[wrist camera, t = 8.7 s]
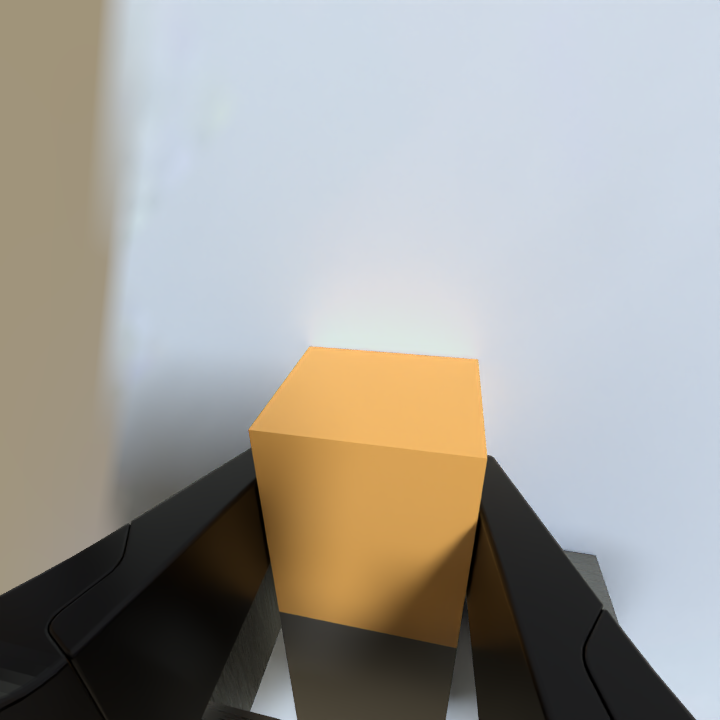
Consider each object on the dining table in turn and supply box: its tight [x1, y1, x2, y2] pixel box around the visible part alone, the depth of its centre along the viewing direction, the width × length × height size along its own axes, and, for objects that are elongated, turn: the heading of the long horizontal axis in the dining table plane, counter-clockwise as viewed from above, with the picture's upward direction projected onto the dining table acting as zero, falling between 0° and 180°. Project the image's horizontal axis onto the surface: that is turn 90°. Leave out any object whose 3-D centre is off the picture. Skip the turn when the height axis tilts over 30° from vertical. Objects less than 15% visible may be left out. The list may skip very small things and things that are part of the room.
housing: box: [201, 551, 619, 720], centre depth 9 cm, size 4×10×6 cm, turn 91°
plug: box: [248, 347, 487, 720], centre depth 10 cm, size 14×4×3 cm, turn 1°
